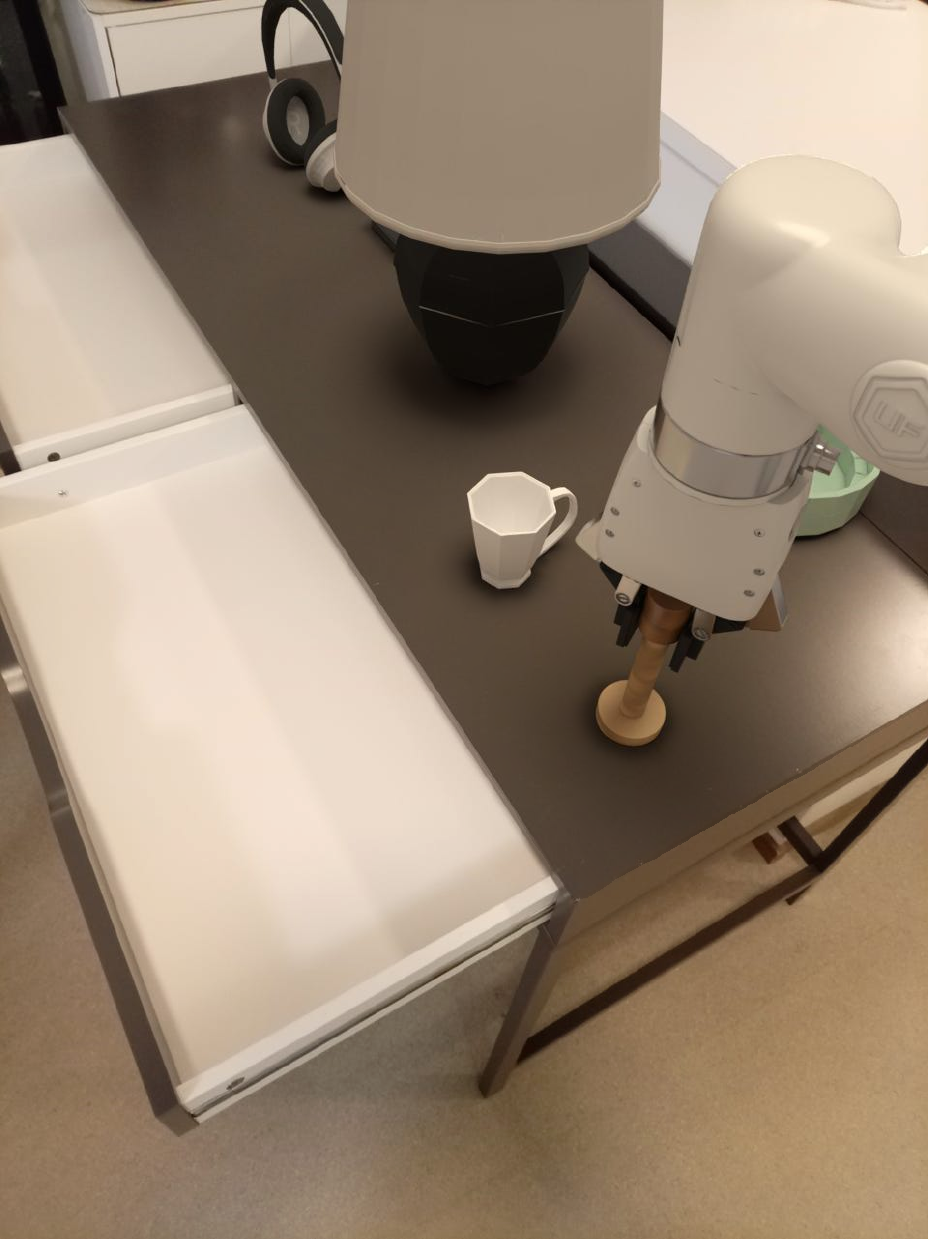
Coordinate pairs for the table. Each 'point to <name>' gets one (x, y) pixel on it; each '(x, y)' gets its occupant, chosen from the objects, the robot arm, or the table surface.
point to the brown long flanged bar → (643, 674)
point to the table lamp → (498, 158)
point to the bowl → (837, 490)
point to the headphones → (301, 97)
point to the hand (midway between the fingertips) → (655, 641)
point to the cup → (514, 524)
